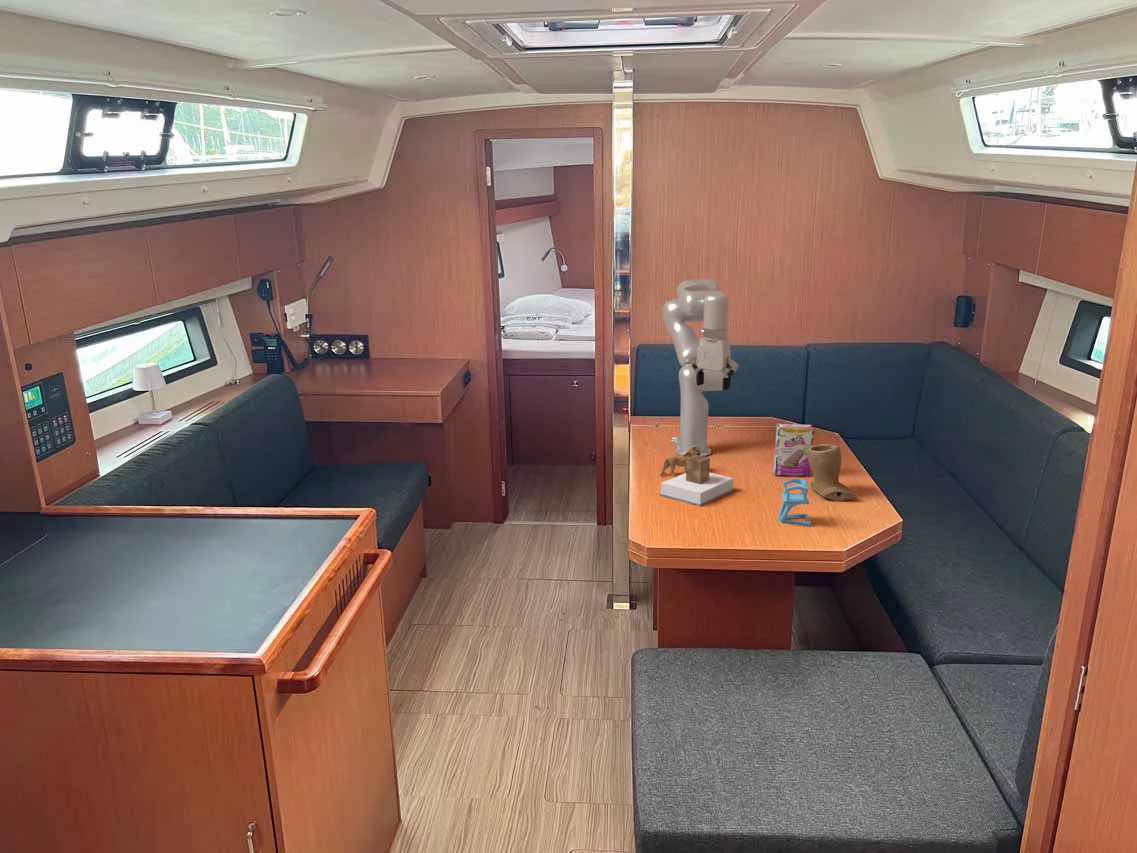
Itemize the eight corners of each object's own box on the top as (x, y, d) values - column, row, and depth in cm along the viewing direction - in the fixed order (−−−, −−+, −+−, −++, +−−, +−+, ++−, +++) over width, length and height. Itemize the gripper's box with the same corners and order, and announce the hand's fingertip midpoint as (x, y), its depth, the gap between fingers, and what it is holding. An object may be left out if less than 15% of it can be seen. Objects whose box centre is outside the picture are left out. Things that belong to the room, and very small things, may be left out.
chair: (776, 515, 241) (778, 475, 238) (806, 516, 240) (809, 475, 237) (780, 526, 234) (782, 484, 231) (811, 526, 233) (813, 484, 230)
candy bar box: (775, 476, 275) (778, 427, 270) (773, 472, 280) (775, 423, 275) (810, 477, 274) (814, 428, 269) (808, 472, 278) (811, 424, 274)
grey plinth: (659, 495, 258) (660, 482, 257) (694, 480, 271) (694, 468, 270) (700, 506, 249) (700, 493, 247) (733, 490, 262) (734, 478, 261)
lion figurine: (694, 469, 283) (695, 442, 281) (703, 473, 278) (704, 447, 276) (656, 475, 277) (656, 448, 275) (664, 479, 272) (665, 452, 270)
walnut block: (685, 480, 259) (686, 458, 257) (695, 476, 262) (695, 454, 260) (699, 484, 255) (700, 461, 254) (709, 480, 259) (709, 458, 257)
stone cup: (799, 486, 265) (802, 440, 261) (837, 485, 266) (840, 439, 262) (816, 503, 251) (820, 454, 247) (856, 502, 252) (860, 453, 248)
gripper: (685, 332, 272) (683, 385, 276) (732, 338, 261) (729, 393, 265) (698, 329, 277) (696, 381, 282) (745, 335, 266) (742, 389, 270)
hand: (712, 387), depth 273 cm, fingers open, 9 cm apart
